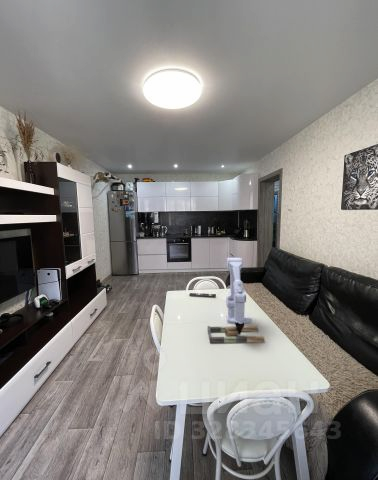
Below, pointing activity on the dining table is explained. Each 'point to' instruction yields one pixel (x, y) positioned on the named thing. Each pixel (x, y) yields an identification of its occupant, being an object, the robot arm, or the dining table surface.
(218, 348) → the dining table surface
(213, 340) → the trap lane
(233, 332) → the tan wooden block
